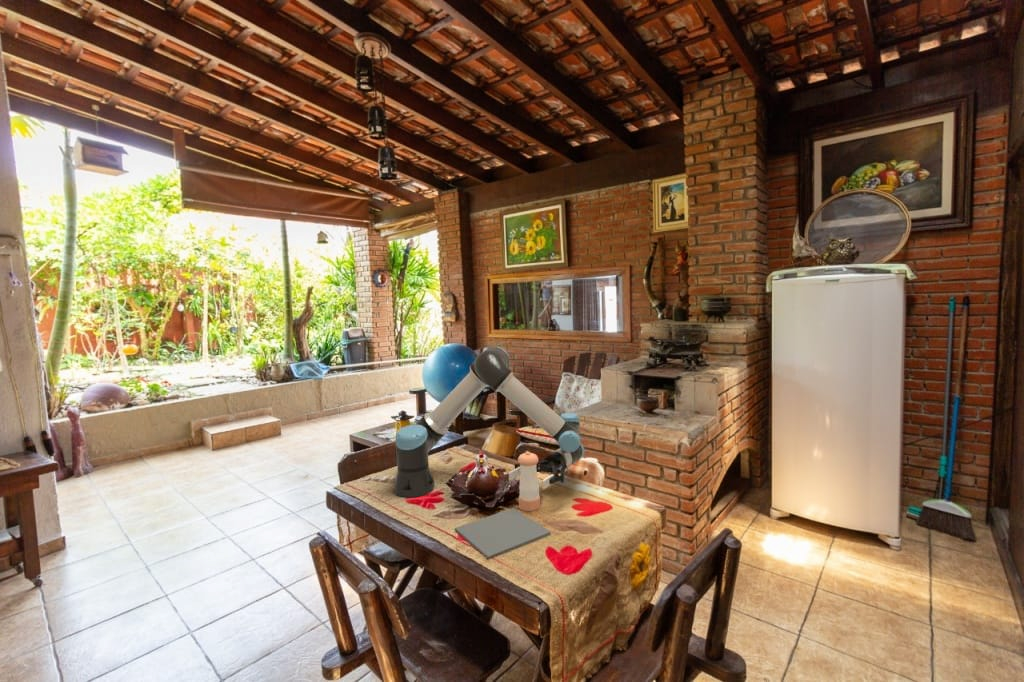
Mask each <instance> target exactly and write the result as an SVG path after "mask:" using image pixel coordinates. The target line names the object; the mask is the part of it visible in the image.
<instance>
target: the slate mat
mask: <svg viewBox="0 0 1024 682" xmlns="http://www.w3.org/2000/svg"><path fill="white" fill-rule="evenodd" d="M454 531H455V532H456V533H457V534H459V536H461V537H462V538H463V539H464V540H465V542H468V543H469V544H470V545H471V546H472V547H473V548H474V549H475V550H477V551H478V553H480V554H481V555H482V554H483V555H484V556H483V557H485V559H487V560H491V559H493V558H495V556H496V557H498V556H501V555H502V554H505V553H508V552H510V551H513V550H515V549H518V548H521V547H523V546H525V545H528V544H530V543H533V542H535V541H537V540H540V539H543V538H546V537H547V536H550V535H552V531H551V530H548V529H547V527H544V526H543V525H541V524H539V523H538V522H536V521H535V520H533V519H531V517H528V516H527V515H525V514H523V513H522V512H520V511H519V510H517V509H516V508H515V507H512V508H509V509H506V510H503V511H501V512H497V513H495V514H491V515H489V516H486V517H483V518H480V519H477V520H474V521H472V522H469V523H465V524H463V525H459V526H456V527H454ZM490 558H491V559H490Z"/></svg>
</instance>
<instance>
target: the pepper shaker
mask: <svg viewBox="0 0 1024 682" xmlns="http://www.w3.org/2000/svg"><path fill="white" fill-rule="evenodd" d="M517 462H518V463H519V464H520V471H521V475H520V479H519V487H518V489H519V495H518V507H519V509H520V510H521V511H525V512H534V511H538V510H539V509H540V508H541V495H540V487H539V486H540V485H539V480H538V474H537V473H538V472H537V468H536V464H537V463H538V462H539V457H538V455H537V454H536V453H533V452H531V451H526V452H524V453H521V454H520V455H519V456H518V458H517Z"/></svg>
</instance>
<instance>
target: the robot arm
mask: <svg viewBox="0 0 1024 682" xmlns="http://www.w3.org/2000/svg"><path fill="white" fill-rule="evenodd" d="M510 359H511V358H510V356H509V354H508V353H507V350H505V349H503V347H499V346H489V347H488V348H486V349H484V351H481V352H480V353H479V354H478V355H477V356H476V358H475V360H474V361H473V362H472V364H471V365H470V366H469V372H468V373H467V374H466V375H465V377H464V378H462V380H461V381H460V382H459V383H458V384H457V385H456V386H455V387H454V389H452V390H451V391H450V393H449V394H448V395H447V396H446V397H445V398H444V399H443V400H442V401H441V402H440V403H439V404H438V405H437V406H436V407H435V408H434V409H433V411H431V412H425V414H423V415H422V417H421V418H419V420H418V421H417V422H416V423H415V424H409V425H405V426H403V427H401V428H399V429H398V430H397V431H396V434H395V441H394V442H395V449H396V451H395V452H396V467H397V473H396V475H395V481H394V484H393V493H394V494H395V495H396V496H398V497H403V498H416V497H420V496H424V495H426V494H429V493H430V492H432V491H433V490H434V489H435V479H434V477H433V474H432V471H431V470H430V464H429V452H430V451H431V450H432V448H434V447H435V446H436V445H437V444H438V443H439V442H440V440H442V438H444V436H445V435H446V434H447V432H448V430H447V429H448V427H449V426H450V425H451V424H452V423H453V421H455V419H457V417H458V416H459V415H460V414H461V413H462V412H463V411H464V410H465V409H466V408H467V407H468V406H469V405H470V404H471V403H472V401H474V399H475V398H477V396H479V395H480V394H481V392H482V391H483V390H484V389H485V388H486V387H488V388H491V389H492V390H493V391H494V392H496V393H497V392H499V393H501V394H502V395H503V396H504V397H505V398H506V399H507V400H509V401H510V402H511V403H512V404H513V405H514V406H515V407H516V408H518V409H519V410H520V411H521V412H523V413H524V414H525V416H527V417H528V418H530V420H531V421H533V422H534V423H535V424H536V425H538V426H539V427H540V428H541V429H542V430H543V431H544V432H546V433H547V435H549V436H550V437H551V438H552V440H554V441H555V442H557V443H558V447H559V448H558V449H556V450H554V451H552V452H551V453H549V454H547V455H546V457H545V458H544V459H543V460H541V461H538V463H537V464H536V468H537V473H542V472H543V473H550V475H549V476H547V477H545V478H544V479H542V480H541V488H542V490H545V489H547V488H549V487H550V486H551V485H553V484H555V483H559V482H560V483H561V484H562V483H565V477H566V474H567V473H568V468H569V467H570V466H572V465H574V464H575V463H577V462H579V461H580V459H582V458H583V457H584V455H585V447H584V446H583V444H582V443H581V435H580V433H581V432H580V422H581V421H580V416H579V414H578V413H573V412H565V413H562V414H560V415H558V413H556V411H554V410H553V409H552V408H551V407H550V406H549V405H547V404H546V403H545V402H544V401H543V400H541V399H540V398H539V397H538V396H537V395H536V394H535V393H534V392H533V391H531V390H530V389H529V388H528V387H527V386H525V385H524V384H523V383H522V382H521V381H520V380H519V379H518V378H517V377H515V376H514V374H513V373H514V372H513V370H511V369H510V364H511V363H510V362H511V361H510ZM559 474H560V475H559ZM519 476H521V471H520V464H519V462H518V463H515V464H514V468H513V469H512V470H510V471H509V472H508V481H512V480H514V479H516V478H517V477H519Z"/></svg>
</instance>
